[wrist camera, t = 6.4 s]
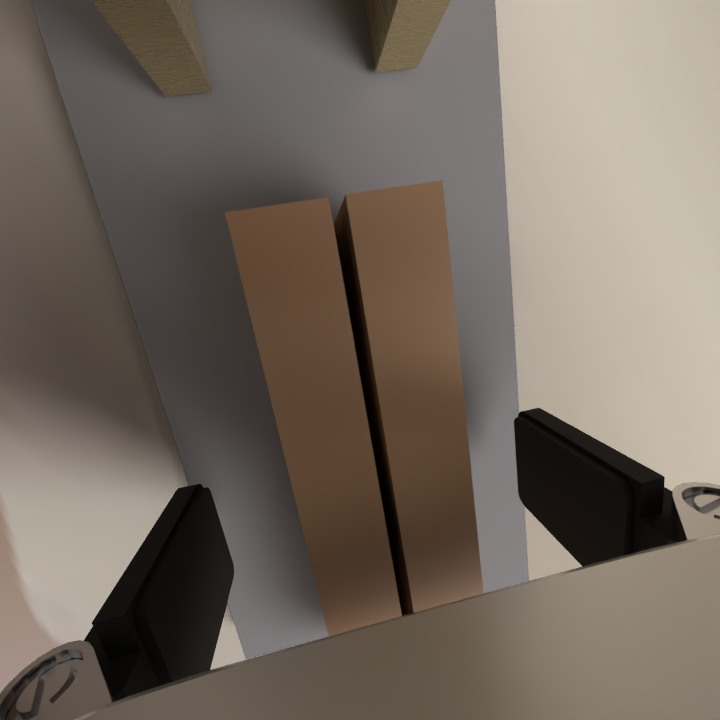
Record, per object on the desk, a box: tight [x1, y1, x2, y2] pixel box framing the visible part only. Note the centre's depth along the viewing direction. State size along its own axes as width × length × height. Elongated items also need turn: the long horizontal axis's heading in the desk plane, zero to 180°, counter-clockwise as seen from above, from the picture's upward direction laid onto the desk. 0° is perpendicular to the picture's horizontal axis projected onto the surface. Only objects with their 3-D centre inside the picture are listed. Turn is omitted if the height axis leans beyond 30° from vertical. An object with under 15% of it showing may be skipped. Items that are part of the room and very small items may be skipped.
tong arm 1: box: [334, 180, 483, 616], centre depth 10 cm, size 15×2×5 cm, turn 10°
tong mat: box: [30, 0, 529, 659], centre depth 12 cm, size 22×12×1 cm, turn 10°
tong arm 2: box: [225, 197, 402, 636], centre depth 10 cm, size 15×2×5 cm, turn 10°
